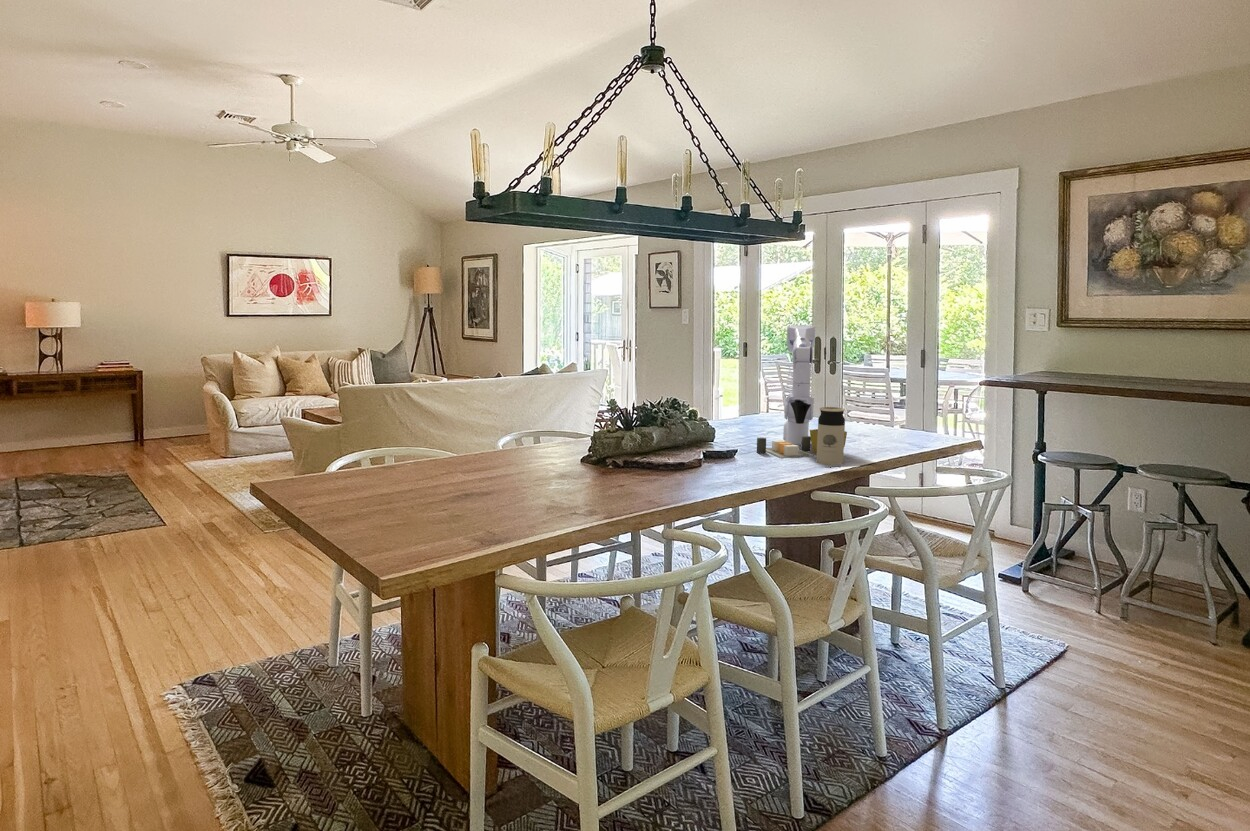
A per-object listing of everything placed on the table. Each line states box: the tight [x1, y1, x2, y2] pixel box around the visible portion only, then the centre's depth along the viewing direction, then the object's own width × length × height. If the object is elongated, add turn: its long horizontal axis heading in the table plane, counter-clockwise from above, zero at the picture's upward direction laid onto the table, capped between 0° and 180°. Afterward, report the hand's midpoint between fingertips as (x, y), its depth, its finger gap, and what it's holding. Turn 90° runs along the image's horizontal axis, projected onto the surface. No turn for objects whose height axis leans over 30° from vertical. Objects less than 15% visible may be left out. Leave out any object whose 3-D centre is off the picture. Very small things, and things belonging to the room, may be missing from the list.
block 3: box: [784, 444, 800, 456], centre depth 257 cm, size 2×4×3 cm, turn 104°
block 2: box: [778, 442, 793, 453], centre depth 262 cm, size 2×4×3 cm, turn 104°
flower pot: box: [809, 428, 848, 455], centre depth 259 cm, size 9×9×9 cm
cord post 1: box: [756, 437, 767, 455], centre depth 261 cm, size 3×3×6 cm
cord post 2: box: [800, 435, 812, 453], centre depth 265 cm, size 3×3×6 cm
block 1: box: [771, 439, 787, 451], centre depth 266 cm, size 2×4×3 cm, turn 104°
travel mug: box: [816, 406, 846, 469], centre depth 245 cm, size 8×8×18 cm
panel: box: [766, 447, 815, 459], centre depth 262 cm, size 18×12×2 cm, turn 14°
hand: (799, 423), depth 265 cm, fingers closed
